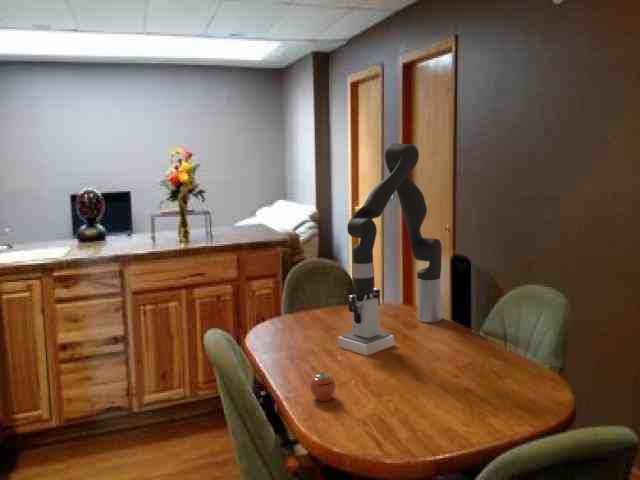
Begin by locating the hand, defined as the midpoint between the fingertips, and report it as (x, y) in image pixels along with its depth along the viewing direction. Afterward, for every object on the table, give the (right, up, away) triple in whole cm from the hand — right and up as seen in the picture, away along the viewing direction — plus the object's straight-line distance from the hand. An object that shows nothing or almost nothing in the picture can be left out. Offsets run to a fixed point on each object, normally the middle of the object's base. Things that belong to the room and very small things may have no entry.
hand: (365, 320), depth 203 cm
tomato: (-15, -16, -41) cm, 47 cm away
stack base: (0, -9, +1) cm, 9 cm away
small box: (0, -5, +1) cm, 5 cm away
